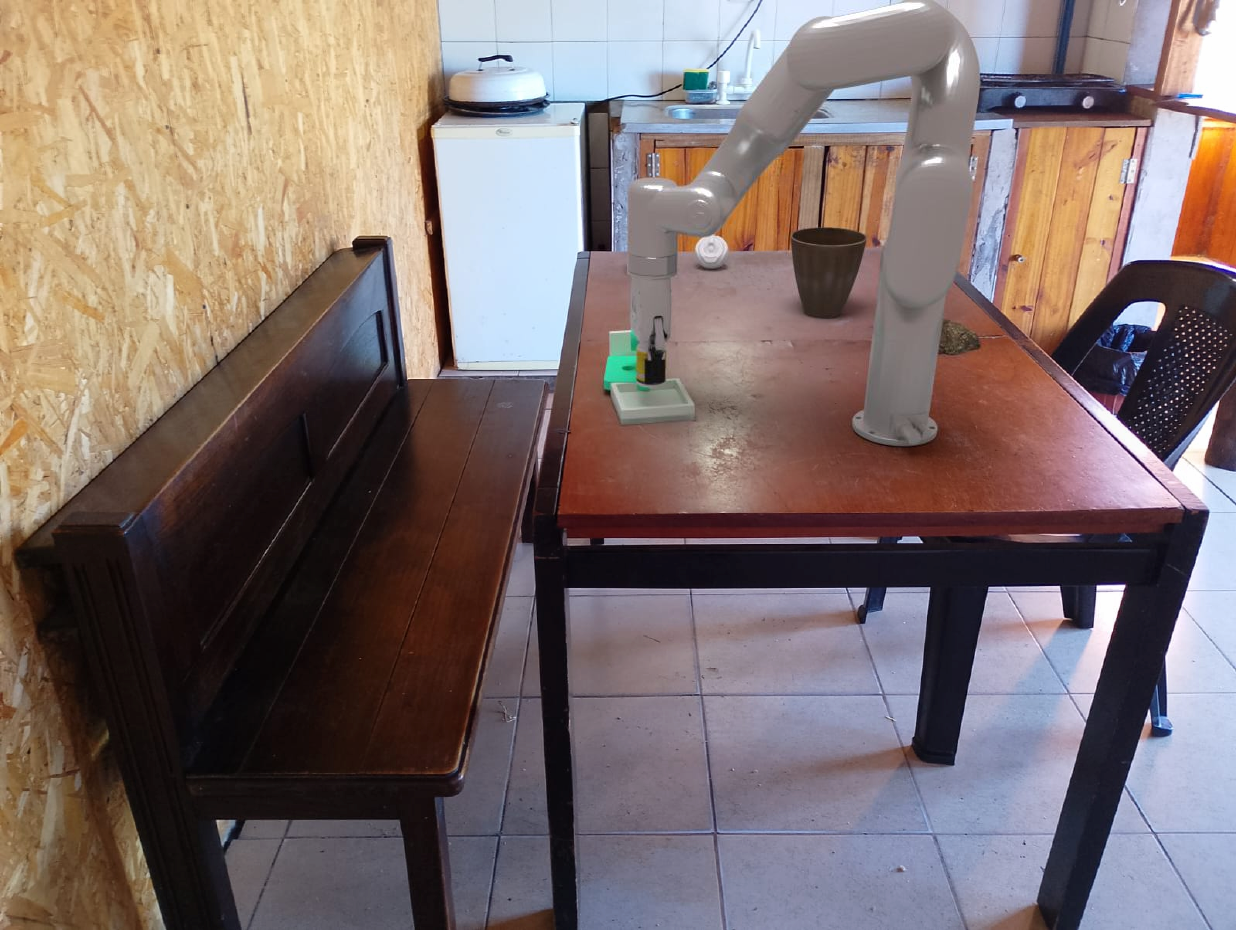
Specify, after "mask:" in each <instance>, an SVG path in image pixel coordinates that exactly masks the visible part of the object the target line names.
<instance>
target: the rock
mask: <svg viewBox="0 0 1236 930" xmlns="http://www.w3.org/2000/svg"><path fill="white" fill-rule="evenodd" d="M980 347H981V340H980V337H979V336H978V334H977V333H976V332H975V331H973V330H971V328H968V327H966V326H964V325H962V324H961V323H960V322H959V323H958V322H956V321H955V320H951V319H945V318H943V324H942V331H941V337H940V342H939V349H938V355H944V354H945V355H948V356H949V355H951V356H952V355H954V356H955V355H962V354H963V355H964V354H965V353H967V352H969V351H976V350H978V349H979V348H980Z"/></svg>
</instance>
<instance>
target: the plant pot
mask: <svg viewBox="0 0 1236 930" xmlns="http://www.w3.org/2000/svg"><path fill="white" fill-rule="evenodd" d="M867 240H868V237H867V235H866V234H865V233H863V232H860V231H857V230H854V229H848V228H841V227H809V228H803V229H798V230H795V231H793V232H792V233H791V234H790V242H791V243H790V244H791V255H792V265H793V272H794V278H795V282H796V287H797V291H798V296H799V299H800V302H801V306H802V309H803V312H804V314H805V315H806V316H808V317H811V316H812V318H817V319H833V318H836V317H838V316H840V315H841V313H842V311H843V309H844V308H845V305H846V303H847V301H848V299H849V297H850V296H851V295H850V294H851V292H852V289H853V287H854V285H855V282H856V279H857V276H858V273H859V270H860V267H861V263H862V261H863V256H864V253H865V248H866V244H867Z"/></svg>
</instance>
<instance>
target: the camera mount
mask: <svg viewBox="0 0 1236 930" xmlns="http://www.w3.org/2000/svg"><path fill="white" fill-rule="evenodd" d="M630 330H631V351H637V345H638V344H639V340H638V339H637V338H636V336H635V334H634V332H633V330H632V328H631V327H630ZM636 364H637V356H610V355H609V356H608V357H607V360H606V366H605V371H604V377H603V389H604V390H607V391H611V388H610V383H637V382H636ZM637 390H645V391H650V388H646V387H642V386H639V385H638V384H637Z"/></svg>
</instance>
